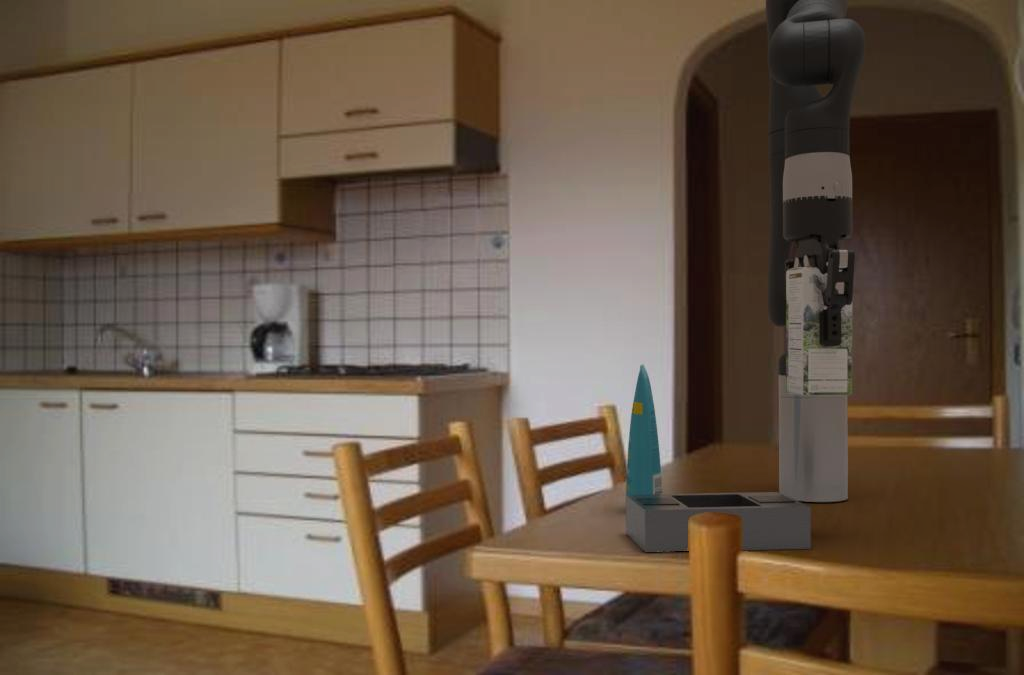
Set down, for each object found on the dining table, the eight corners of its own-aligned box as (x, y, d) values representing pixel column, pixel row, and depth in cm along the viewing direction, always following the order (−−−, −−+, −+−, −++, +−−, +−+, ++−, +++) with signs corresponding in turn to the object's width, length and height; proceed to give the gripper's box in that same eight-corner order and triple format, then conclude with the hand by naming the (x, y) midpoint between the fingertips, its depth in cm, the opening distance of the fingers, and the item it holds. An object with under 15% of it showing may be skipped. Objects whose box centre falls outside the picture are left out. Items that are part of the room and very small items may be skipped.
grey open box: (626, 533, 113) (625, 494, 113) (777, 530, 114) (777, 491, 114) (645, 552, 103) (644, 509, 103) (810, 548, 104) (810, 505, 104)
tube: (624, 507, 130) (623, 363, 130) (661, 507, 130) (660, 363, 130) (626, 517, 123) (625, 365, 123) (665, 517, 123) (664, 365, 123)
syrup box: (833, 393, 114) (832, 269, 114) (853, 396, 108) (853, 264, 108) (785, 393, 113) (784, 269, 113) (803, 396, 107) (802, 265, 107)
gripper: (762, 206, 117) (763, 345, 117) (811, 187, 103) (812, 346, 103) (822, 206, 118) (823, 345, 118) (878, 188, 104) (880, 346, 104)
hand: (818, 345), depth 110 cm, fingers closed on syrup box, 6 cm apart
